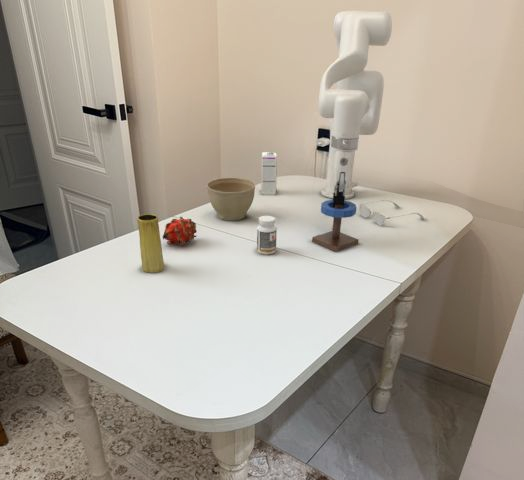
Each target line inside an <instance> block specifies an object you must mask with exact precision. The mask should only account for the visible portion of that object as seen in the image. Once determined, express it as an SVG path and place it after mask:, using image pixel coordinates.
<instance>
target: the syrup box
mask: <svg viewBox="0 0 524 480" xmlns="http://www.w3.org/2000/svg"><path fill="white" fill-rule="evenodd" d="M277 157H278V153H277V152H276V151H275V152H274V151H263V152H261V171H260V172H261V173H260V174H261V183H260V184H261V186H260V187H261V190H260V191H261V193H260V194H261V195H267V196H269V195H270V196H273V195H274V196H276V195H277V177H278V176H277V175H278V173H277V172H278V170H277V169H278V167H277V166H278V165H277V164H278V160H277V159H278V158H277Z"/></svg>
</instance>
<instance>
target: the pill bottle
mask: <svg viewBox="0 0 524 480" xmlns="http://www.w3.org/2000/svg"><path fill="white" fill-rule="evenodd" d="M258 224H259V225H257V227H256V251H257V252H258V253H259V254H261V255H273V254H275V253H276V251H277V226H276V225H275V224H276V218H275V217H274V216H271V215H262V216H260V217H258Z"/></svg>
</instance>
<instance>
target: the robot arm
mask: <svg viewBox="0 0 524 480" xmlns="http://www.w3.org/2000/svg"><path fill="white" fill-rule="evenodd" d="M392 27H393V20H392V16H391V14H390V13H389V12H388V11H378V10H377V11H374V10H373V11H372V10H343V11H340V12H338V13H336V15H335V17H334V20H333V33H334V38H335V42H336V45H337V49H338V58H337V59H335V60H334V61H333V62H332V63H331V64H330V65H329V66H328V67H327V69H326V70H325V71H324V73H323V75H322V77H321V79H320V85H319V93H318V102H317V110H318V113H319V115H320V116H321V117H322V118H324V119H329V149H328V159H327V160H328V161H327V170H326V182H325V187H323V188H322V189H321V192H320V193H321V195H322V196H324V197H325V198H328V199H332V200H333V208H335V205H342V206H343V208H344V200H347V199H351V198H353V197H354V196H355V191H354V190H353V188H355V187H358V186H359V182H358V180H356V181H352V179H353V172H354V171H353V170H354V164H355V157H356V156H355V155H356V151H358V149H359V148H358V146H359V138H360V136H372V135H374V134H376V133H377V131H378V128H379V125H380V117H381V110H382V102H383V95H384V87H385V79H384V75H383V74H382V73H381V72H380V71H378V70H365V68H366V66H367V65H368V60H369V49H370V46H372V47H373V46H375V47H376V46H377V47H385V46H386V45H387V44H388V43H389V41H390V39H391V36H392V29H393V28H392ZM335 84H336V88H331V87H333V85H335Z"/></svg>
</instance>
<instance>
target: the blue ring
mask: <svg viewBox="0 0 524 480" xmlns="http://www.w3.org/2000/svg"><path fill="white" fill-rule="evenodd" d="M320 213H321V214H323V215H325V216H327V217H330V218H334V217H336V218H342V219H346V218H352V217H354V216H356V214H357V204H355V203H354V202H352V201H349V200H346V199H344V208H343V209H336V208H333V199H329V200H327V199H326V200H324V201H323V202H321V204H320Z"/></svg>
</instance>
